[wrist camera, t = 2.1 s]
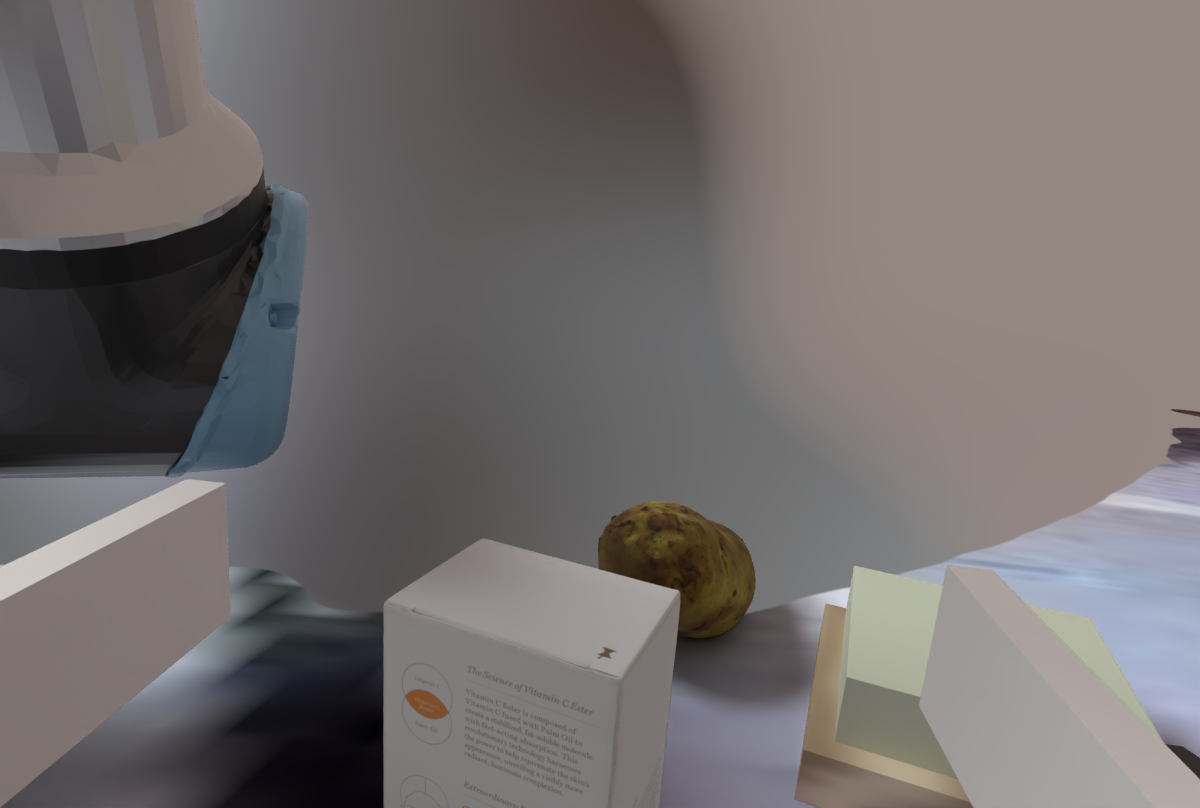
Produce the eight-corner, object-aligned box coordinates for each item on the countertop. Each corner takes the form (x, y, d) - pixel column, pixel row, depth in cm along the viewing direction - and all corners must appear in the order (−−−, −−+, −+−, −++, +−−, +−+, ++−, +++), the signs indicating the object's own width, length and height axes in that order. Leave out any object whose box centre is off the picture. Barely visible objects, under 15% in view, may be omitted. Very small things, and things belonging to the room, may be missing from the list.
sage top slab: (834, 741, 29) (846, 676, 28) (845, 615, 39) (854, 565, 38) (1154, 837, 25) (1177, 766, 25) (1075, 671, 36) (1090, 617, 35)
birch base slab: (792, 812, 29) (803, 749, 28) (817, 650, 41) (825, 603, 40) (1172, 943, 25) (1196, 873, 24) (1077, 720, 37) (1092, 669, 36)
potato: (808, 629, 42) (829, 502, 40) (645, 704, 34) (662, 550, 32) (705, 571, 48) (719, 459, 46) (547, 623, 40) (557, 490, 38)
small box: (657, 851, 26) (689, 589, 24) (594, 994, 21) (627, 679, 18) (470, 772, 29) (482, 532, 26) (376, 880, 24) (380, 596, 21)
